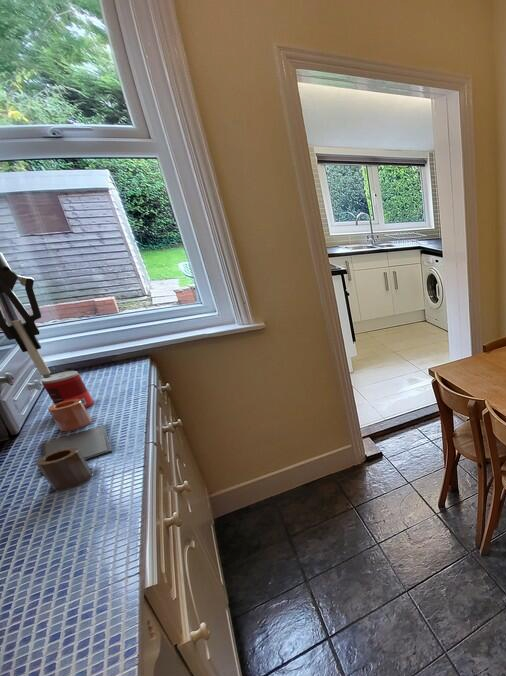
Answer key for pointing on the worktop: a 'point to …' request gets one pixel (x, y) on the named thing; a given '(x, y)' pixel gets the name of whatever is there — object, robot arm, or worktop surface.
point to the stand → (64, 468)
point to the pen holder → (70, 415)
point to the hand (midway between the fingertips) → (32, 349)
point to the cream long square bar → (31, 348)
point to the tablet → (82, 443)
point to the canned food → (67, 388)
